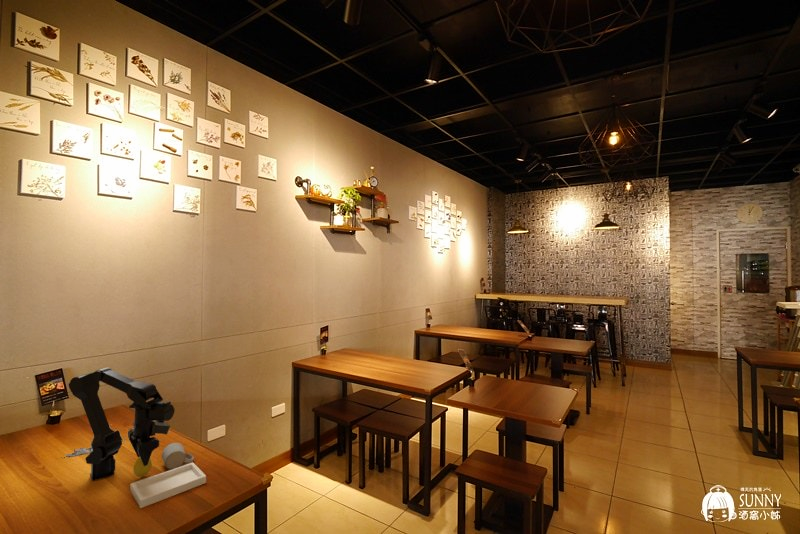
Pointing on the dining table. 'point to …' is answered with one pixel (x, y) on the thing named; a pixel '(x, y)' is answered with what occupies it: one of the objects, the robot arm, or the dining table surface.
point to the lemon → (142, 468)
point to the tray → (167, 484)
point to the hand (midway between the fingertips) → (142, 461)
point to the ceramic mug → (175, 456)
